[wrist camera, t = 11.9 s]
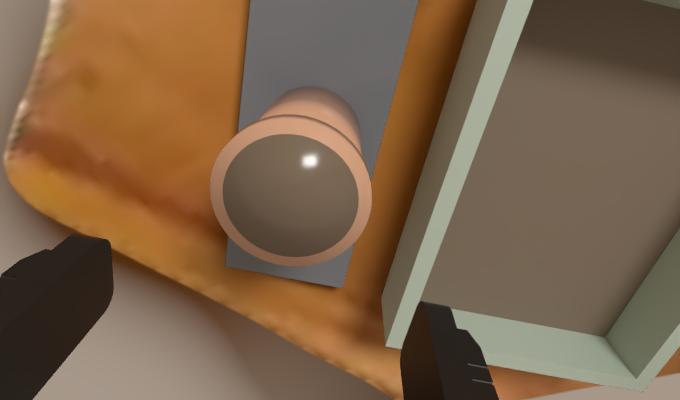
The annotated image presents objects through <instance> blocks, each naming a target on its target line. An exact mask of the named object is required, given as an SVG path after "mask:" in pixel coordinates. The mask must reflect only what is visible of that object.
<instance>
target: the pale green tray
mask: <svg viewBox="0 0 680 400" xmlns="http://www.w3.org/2000/svg"><path fill="white" fill-rule="evenodd" d="M420 301H425V302H430V303H435V304H440V305H445V306H449V307H450V308H451V310H452V313H453V316H454V320H455V323H456V326H457V328H458V329H464V330H467V331H468V332H469V333H470V334H471V336H472V337H473V338H474V340H475V341H476V342H477V343H478V345H479V346H480V347H481V350H482V353H483V356H484V358H485V361H486V364H487V365H493V366H499V367H504V368H510V369H515V370H521V371H527V372H532V373H538V374H543V375H549V376H555V377H560V378H566V379H571V380H577V381H583V382H588V383H594V384H599V385H605V386H610V387H616V388H622V389H627V390H633V391H638V392H644V390H645V389H646V388H647V386H648V385H649V384H650V383H651V382H652V380H653V379H654V378H655V377H656V375H657V374H658V373H659V372H660V370H661V369H662V368H663V367H664V365H665V364H666V363H667V362H668V360H669V359H670V358H671V357H672V355H673V354H674V353H675V352H676V351H677V349H678V348H679V347H680V0H477V2H476V5H475V8H474V11H473V14H472V17H471V21H470V24H469V27H468V30H467V33H466V36H465V39H464V42H463V45H462V48H461V52H460V55H459V58H458V61H457V64H456V67H455V70H454V73H453V76H452V79H451V83H450V86H449V89H448V92H447V95H446V98H445V101H444V104H443V107H442V110H441V114H440V117H439V120H438V123H437V126H436V129H435V132H434V135H433V138H432V141H431V145H430V148H429V151H428V154H427V157H426V160H425V163H424V166H423V169H422V172H421V175H420V179H419V182H418V185H417V188H416V191H415V194H414V197H413V200H412V203H411V206H410V210H409V213H408V216H407V219H406V222H405V225H404V228H403V231H402V234H401V237H400V241H399V244H398V247H397V250H396V253H395V256H394V259H393V262H392V265H391V268H390V272H389V275H388V278H387V281H386V284H385V287H384V290H383V293H382V296H381V304H382V315H383V326H384V337H385V346H387V347H392V348H398V349H402V345H403V342H404V339H405V336H406V334H407V331H408V328H409V326H410V323H411V320H412V318H413V315H414V313H415V310H416V307H417V305H418V303H419V302H420Z"/></svg>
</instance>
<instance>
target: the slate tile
mask: <svg viewBox="0 0 680 400" xmlns="http://www.w3.org/2000/svg"><path fill="white" fill-rule="evenodd" d="M418 1H419V0H251V1H250V11H249V22H248V32H247V43H246V53H245V63H244V74H243V84H242V95H241V105H240V116H239V126H238V132H240V131H241V130H242V129H243V128H245V127H246V126H248V125H250V124H251V123H253V122H255V121H258V120H259V118H260V117H261V116H262V115H263V113H264V112H265V111H266V110H267V109H268V107H269V106H270V105H271V104H272V103H273V102H274V101H275V100H276V99H277V98H278V97H279V96H280V95H282V94H283V93H285V92H287V91H289V90H292V89H295V88H298V87H305V86H313V87H320V88H324V89H327V90H329V91H332V92H334V93H335V94H337V95H339V96H340V97H341V98H342V99H344V100H345V101H346V102H347V103H348V104H349V106H350V107H351V108H352V110H353V111H354V113H355V115H356V117H357V119H358V122H359V126H360V132H361V148H362V157H363V159H364V161H365V163H366V166H367V168H368V172H369V176H370V182H371V179H372V175H373V171H374V167H375V164H376V160H377V156H378V152H379V148H380V145H381V141H382V137H383V133H384V130H385V126H386V122H387V118H388V114H389V111H390V107H391V103H392V99H393V95H394V92H395V88H396V84H397V80H398V77H399V73H400V69H401V65H402V61H403V58H404V54H405V50H406V46H407V42H408V39H409V35H410V31H411V27H412V24H413V20H414V16H415V12H416V8H417V5H418ZM354 243H355V242H354ZM354 243H353V244H352V245H351V246H350V247H349V248H348V249H347V250H345V251H344V252H343V253H341V254H340V255H338V256H336V257H335V258H332V259H330V260H328V261H325V262H322V263H319V264H315V265H309V266H284V265H278V264H274V263H270V262H267V261H264V260H262V259H259V258H257V257H255V256H253V255H251V254H250V253H248V252H247V251H245V250H243V249H242V248H241V247H240V246H238V245H237V244H236V243H235V242H234V241H233V240H232V239H231V238H230V237H229V236H228V241H227V251H226V262H225V267H231V268H236V269H242V270H247V271H252V272H258V273H263V274H268V275H274V276H279V277H284V278H290V279H295V280H300V281H306V282H311V283H317V284H322V285H327V286H333V287H338V288H343V285H344V281H345V277H346V273H347V270H348V266H349V262H350V258H351V254H352V251H353V247H354Z"/></svg>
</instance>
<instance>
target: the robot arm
mask: <svg viewBox="0 0 680 400" xmlns="http://www.w3.org/2000/svg"><path fill="white" fill-rule="evenodd" d="M111 255H112V254H111V245H110V242H109V241H108V240H107V239H102V238H97V237H92V236H86V235H81V234H72V235H70V236H69V237H67V238H66V239H65V240H64V241H63V242H61V243H60V244H59V245H58V246H56V247H55V248H54V249H52V250H47V249H45V250H42V251H40V252H38V253H35V254H33V255H31V256H29V257H26V258H24V259H21V260H20V261H18V262H17V263H16V264H14V265H13V266H12V267H11V268H9V269H8V270H7V271H5V272H4V273H2V274H1V277H0V400H32V399H33V398H34V397H35V396H36V395H37V393H38V392H39V391H40V390H41V388H42V387H43V386H44V385H45V384H46V383H47V381H48V380H49V379H50V378H51V376H52V375H53V374H54V373H55V372H56V370H57V369H58V368H59V367H60V366H61V364H62V363H63V362H64V361H65V360H66V358H67V357H68V356H69V355H70V354H71V352H72V351H73V350H74V349H75V347H76V346H77V345H78V344H79V343H80V341H81V340H82V339H83V338H84V337H85V335H86V334H87V333H88V332H89V330H90V329H91V328H92V327H93V326H94V324H95V323H96V322H97V321H98V320H99V318H100V317H101V316H102V315H103V314H104V312H105V311H106V309H107V308H108V306H109V304H110V302H111V298H112V295H113V271H112V256H111ZM400 368H401V377H402V386H403V395H404V400H499V398H498V395H497V393H496V390H495V387H494V385H492V382H493V381H492V378H491V376H490V373H489V370H488V369H487V364H486V361H485V358H484V356H483V353H482V350H481V347H480V346H479V345H478V343H477V342H476V341H475V340H474V338H473V337H472V336H471V334H470V333H469V332H468V331H467V330H464V329H458V328H457V326H456V323H455V320H454V316H453V313H452V310H451V308H450V307H449V306H445V305H440V304H435V303H430V302H425V301H420V302H419V303H418V305H417V307H416V310H415V313H414V315H413V318H412V320H411V323H410V326H409V328H408V331H407V334H406V336H405V339H404V342H403V345H402V350H401V358H400Z"/></svg>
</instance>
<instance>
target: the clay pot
mask: <svg viewBox="0 0 680 400" xmlns="http://www.w3.org/2000/svg"><path fill="white" fill-rule="evenodd" d="M210 197H211V203H212V207H213V210H214V213H215V215H216V217H217V220H218V222H219V223H220V225H221V227H222V228H223V230H224V231H225V232H226V233H227V235H228V236H229V237H230V238H231V239H232V240H233V241H234V242H235V243H236V244H237V245H238V246H240V247H241V248H242V249H243V250H245V251H247V252H248V253H250V254H251V255H253V256H255V257H257V258H259V259H262V260H264V261H267V262H270V263H274V264H278V265H284V266H309V265H315V264H319V263H322V262H325V261H328V260H330V259H332V258H335V257H336V256H338V255H340V254H341V253H343V252H344V251H345V250H347V249H348V248H349V247H350V246H351V245H352V244H353V243H354V242H355V241H356V240H357V239H358V238H359V236H360V235H361V233H362V232H363V230H364V228H365V226H366V224H367V221H368V219H369V216H370V211H371V205H372V193H371V182H370V176H369V172H368V168H367V166H366V163H365V161H364V159H363V157H362V148H361V132H360V126H359V122H358V119H357V117H356V115H355V113H354V111H353V110H352V108H351V107H350V106H349V104H348V103H347V102H346V101H345V100H344V99H342V98H341V97H340V96H339V95H337V94H335V93H334V92H332V91H329V90H327V89H324V88H320V87H313V86H305V87H298V88H295V89H292V90H289V91H287V92H285V93H283V94H282V95H280V96H279V97H278V98H277V99H276V100H275V101H274V102H273V103H272V104H271V105H270V106H269V107H268V109H267V110H266V111H265V112H264V113H263V115H262V116H261V117H260V118H259V120H258V121H255V122H253V123H251V124H250V125H248V126H246V127H245V128H243V129H242V130H241V131H240V132H238V133H237V134H236V135H235V136H234V137H233V138H232V139H231V140H230V142H229V143H228V144H227V145H226V146H225V147H224V148H223V150H222V151H221V153H220V154H219V156H218V158H217V160H216V162H215V164H214V167H213V170H212V173H211V179H210Z"/></svg>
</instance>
